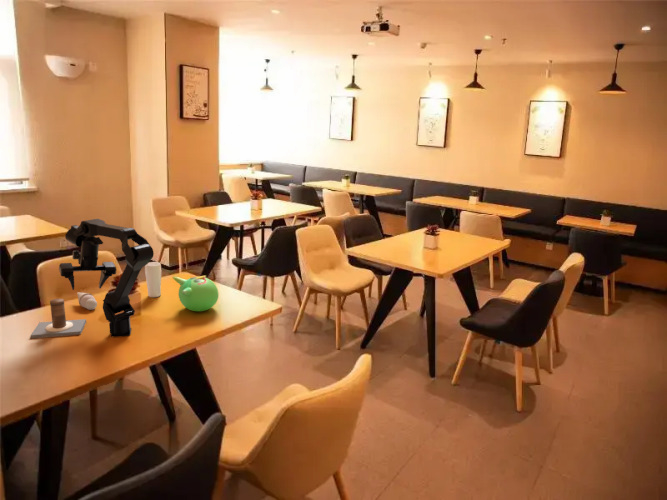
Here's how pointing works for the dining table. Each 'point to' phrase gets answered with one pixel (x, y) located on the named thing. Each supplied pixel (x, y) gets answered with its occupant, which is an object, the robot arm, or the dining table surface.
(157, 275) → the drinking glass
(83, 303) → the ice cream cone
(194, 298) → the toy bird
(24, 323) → the dining table surface
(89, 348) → the dining table surface
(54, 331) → the serving board
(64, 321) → the pepper mill
